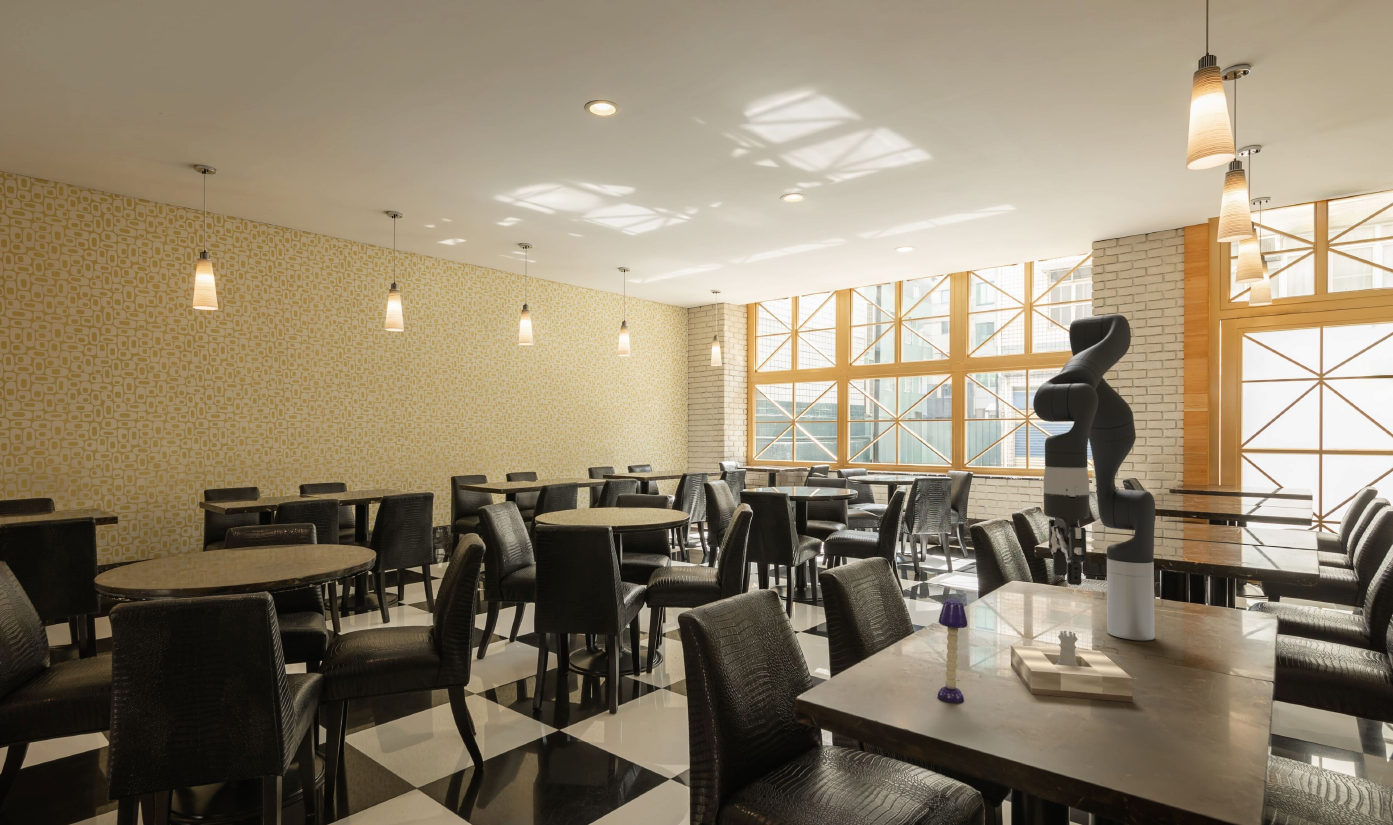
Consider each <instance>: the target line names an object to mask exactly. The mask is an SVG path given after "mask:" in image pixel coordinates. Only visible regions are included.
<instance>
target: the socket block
mask: <svg viewBox="0 0 1393 825" xmlns="http://www.w3.org/2000/svg"><path fill="white" fill-rule="evenodd" d="M1060 650H1061V647H1047V646H1036V645H1035V646H1034V645H1033V646H1031V645H1021V644H1020V645H1018V644H1017V645H1016V644H1010V666H1011V667H1012V669H1013V670H1014V673H1016V675H1017V676H1018V677H1019V679H1020V680H1021V682H1023V685H1024V686H1025V687H1026V688H1027V689H1028V692H1029V693H1030V694H1031V695H1039V696H1054V697H1066V698H1075V699H1076V698H1077V699H1078V698H1079V699H1090V700H1103V701H1113V702H1114V701H1115V702H1116V701H1117V702H1124V703H1126V702H1127V703H1129V702H1130V703H1133V702H1134V700H1133V698H1134V697H1133V692H1134V691H1133V687H1134V686H1133V685H1134V684H1133V677H1132V676H1131V675H1129V674H1128V673H1127V672H1125V671H1124V670H1123V669H1122V668H1121V667H1120V666H1119V665H1117V664H1116V662H1114V661H1112V660H1111V659H1110V658H1109V657H1107V656H1106V655H1105V654H1104V653H1103V652H1102V651H1100V650H1089V649H1078V648H1076V649H1075V656H1076V661H1077V663H1078V666H1066V665H1055V664H1057V663H1058V662H1057V661H1058V660H1059V657H1060Z"/></svg>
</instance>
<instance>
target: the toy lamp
mask: <svg viewBox="0 0 1393 825" xmlns="http://www.w3.org/2000/svg"><path fill="white" fill-rule="evenodd" d="M966 615H967V614H966V610H965V606H964V603H963V602H962V601H960V600H958V599H951V598H948V599H945V600H944V602H943V605H942V608H941V610H940V613H939V617H938V623H939V624H940V625H942V626H944V627H947V635H946V636H947V637H946V638H947V643H946V644H947V645H946V649H947V652H946V659H947V660H946V663H945V668H946V670H945V677H946V678H945V686H942V687H941V688H940V689H939V691H938V692H937V698H938V699H939V700H942V701H943V702H947V703H952V704H953V703H954V704H957V703H958V704H959V703H962V702H964V701H965V698H964V695H963V694H964V693H963V692H962V691H961V690H960V689H959V688H957V687H956V686H957V681H956V679H957V668H958V663H957V661H958V653H957V652H958V644H957V643H958V641H959V637H958V633H959V629H965V628H967V626H968V619H967V616H966Z"/></svg>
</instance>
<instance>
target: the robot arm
mask: <svg viewBox="0 0 1393 825" xmlns="http://www.w3.org/2000/svg"><path fill="white" fill-rule="evenodd" d="M1069 325H1070V326H1069V329H1068V330H1069V332H1068V335H1069V336H1068V338H1069V344H1070V349H1071V354H1072V357H1071V358H1069V360H1067V362H1066V363H1065V364H1064V365H1063V368H1062V369H1061V370H1060V372H1059V373H1058V374H1056V375H1054V376H1052V377H1051V378H1050V379H1048V380H1046V381H1045V382H1044V383H1042V384H1041V386H1040V387H1039V388H1038V389H1037V390H1036V393H1035V394H1034V397H1033V403H1032V406H1033V411H1034V413H1035V415H1036V416H1037V417H1038V418H1039V419H1040V420H1042V421H1044V422H1050V423H1064V422H1065V423H1068V422H1072V423H1073V425H1072V427H1070V429H1069V431H1067V432H1064V433H1059V434H1052V435H1050V436H1047V438H1046V439H1045V441H1044V474H1043V514H1044V516H1045V517H1048V518H1049V519H1048V549H1049V550H1050V552H1051V555H1052V564H1053V565H1052V568H1053V569H1052V572H1053V574H1054V575H1055V576H1064V577H1065V576H1066V583H1067V584H1069V585H1072V586H1073V585H1074V586H1080V585H1081V584H1082V565H1083V563H1086V562H1087V560H1088V558H1087V556H1088V555H1087V529H1086V527H1080V523H1079V520H1086V519H1088V518H1090V516H1091V515H1090V475H1089V471H1088V469H1089V468H1088V465H1089V464H1088V444H1089V446H1090V451H1091V456H1092V461H1093V468H1094V473H1095V476H1094V477H1095V484H1096V486H1095V487H1096V498H1097V499H1096V500H1097V508H1098V516H1099V519H1100V521H1101V523H1102V525H1103V526H1104V527H1105V528H1109V529H1113V530H1114V529H1115V530H1125V531H1126V530H1128V531H1134V536H1133V537H1132V538H1130V539H1129V540H1125V541H1123V542H1117V543H1114V544H1110V545H1107V547H1106V613H1107V614H1106V620H1107V621H1106V626H1107V627H1106V628H1107V630H1106V632H1107V634H1109V635H1111V636H1114V637H1117V638H1122V639H1126V640H1133V641H1152V640H1155V575H1154V574H1155V573H1154V571H1155V570H1154V568H1155V566H1154V564H1155V562H1154V560H1155V559H1154V550H1155V524H1156V523H1155V522H1156V502H1155V499H1154V498H1155V497H1154V496H1153V494H1152V493H1151V492H1150V491H1147V490H1139V489H1122V488H1117V486H1116V482H1115V481H1116V475H1117V473H1118V471H1119V469H1120V467H1121V465H1122V464H1123V462H1124V461H1125V459H1126V458H1127V456H1128V455H1129V453H1130V452H1131V450H1132V449H1133V447H1134V445H1135V442H1136V438H1137V435H1136V427H1135V421H1134V420H1135V419H1134V414H1133V411H1132V408H1131V407H1130V405H1129V404H1128V402H1127V401H1126V400H1125V399H1124V398H1123V396H1122V395H1120V393H1118V391H1116V390H1115V389H1114V388H1113V387H1112V386H1111V385H1110V384H1109V383H1108V382H1107V380H1106V379H1105V378H1104V376H1105V374H1106V373H1107V372H1108V371H1109V370H1111V368H1113V367H1114V366H1115V365H1116V364H1117V363H1118V362H1119V361H1120V360H1121V359H1122V358H1123V357H1124V356H1125V355H1127V353H1128V351H1129V349H1130V346H1131V340H1132V337H1131V336H1132V334H1131V326H1130V323H1129V321H1128V318H1126V316H1124V315H1123V314H1117V313H1116V314H1115V313H1114V314H1106V315H1105V314H1103V315H1102V314H1101V315H1094V316H1088V317H1087V316H1086V317H1080V318H1076V319H1074V320H1072V321H1071V324H1069Z"/></svg>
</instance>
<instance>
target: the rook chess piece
mask: <svg viewBox="0 0 1393 825" xmlns="http://www.w3.org/2000/svg"><path fill="white" fill-rule="evenodd" d="M1059 632H1060V633H1059V634H1058V636H1057V638H1058V639H1059V641H1060V643H1059V648H1061V650H1060V657H1059V660H1058V661H1057V662H1058V663H1057V664H1055V665H1066V666H1078V663H1077V661H1076V656H1075V649H1077V646H1076V642H1078V640H1079V638H1078V637H1077V636H1076V632H1073V631H1068V632H1067V630H1060V631H1059Z"/></svg>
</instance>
